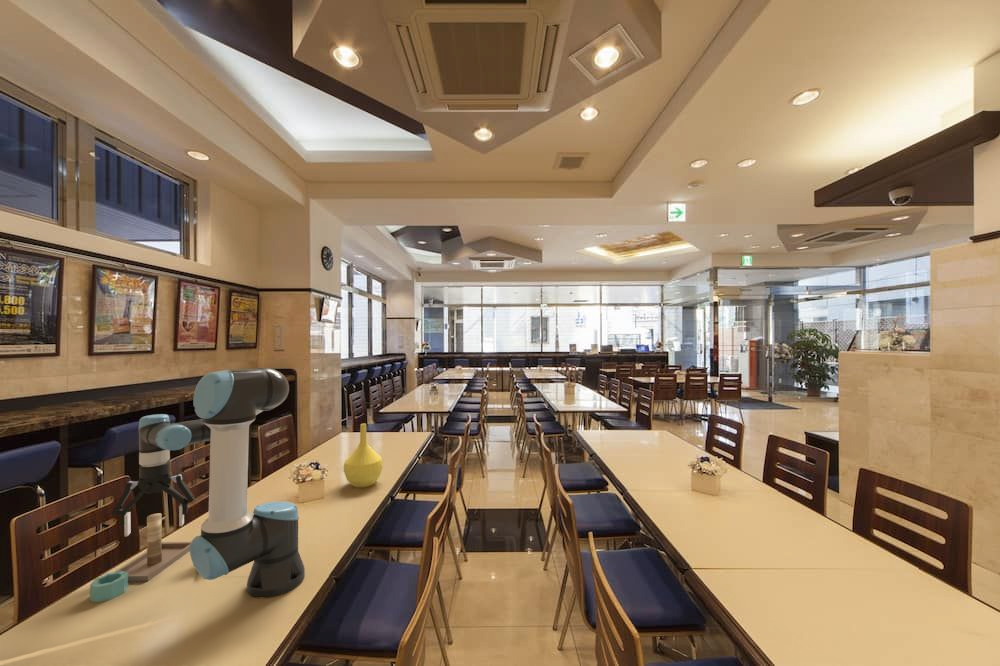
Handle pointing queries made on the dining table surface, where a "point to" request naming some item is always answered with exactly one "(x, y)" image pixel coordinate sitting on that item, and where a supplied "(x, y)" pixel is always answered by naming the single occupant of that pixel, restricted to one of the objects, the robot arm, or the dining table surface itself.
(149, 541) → the dowel
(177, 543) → the tray
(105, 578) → the ring
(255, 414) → the robot arm
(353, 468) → the vase
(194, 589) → the dining table surface
